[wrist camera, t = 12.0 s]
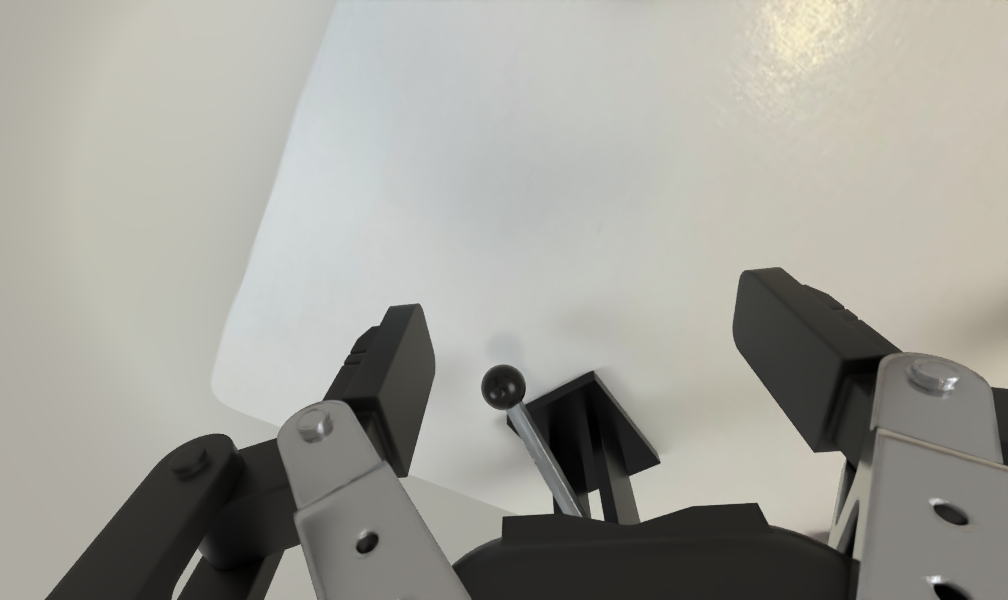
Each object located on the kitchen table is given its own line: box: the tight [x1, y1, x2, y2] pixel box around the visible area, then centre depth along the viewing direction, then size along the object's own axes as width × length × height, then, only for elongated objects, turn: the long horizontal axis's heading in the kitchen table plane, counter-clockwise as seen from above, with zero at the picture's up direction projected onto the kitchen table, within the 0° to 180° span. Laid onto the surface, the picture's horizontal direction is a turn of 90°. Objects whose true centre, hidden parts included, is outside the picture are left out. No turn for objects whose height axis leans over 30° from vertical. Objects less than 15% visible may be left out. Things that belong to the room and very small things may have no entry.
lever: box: [481, 365, 589, 518], centre depth 30 cm, size 17×3×3 cm, turn 36°
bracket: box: [507, 371, 661, 525], centre depth 34 cm, size 12×9×14 cm
